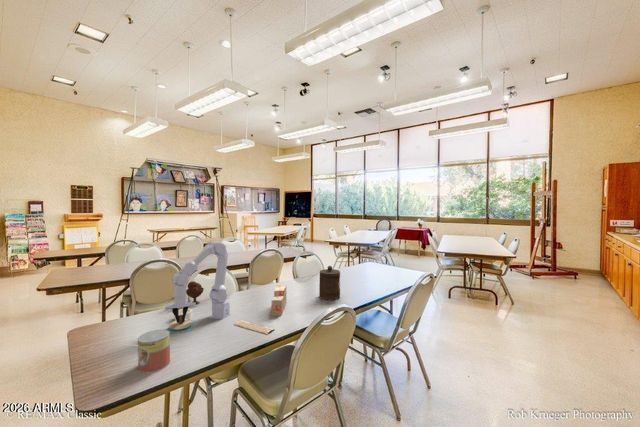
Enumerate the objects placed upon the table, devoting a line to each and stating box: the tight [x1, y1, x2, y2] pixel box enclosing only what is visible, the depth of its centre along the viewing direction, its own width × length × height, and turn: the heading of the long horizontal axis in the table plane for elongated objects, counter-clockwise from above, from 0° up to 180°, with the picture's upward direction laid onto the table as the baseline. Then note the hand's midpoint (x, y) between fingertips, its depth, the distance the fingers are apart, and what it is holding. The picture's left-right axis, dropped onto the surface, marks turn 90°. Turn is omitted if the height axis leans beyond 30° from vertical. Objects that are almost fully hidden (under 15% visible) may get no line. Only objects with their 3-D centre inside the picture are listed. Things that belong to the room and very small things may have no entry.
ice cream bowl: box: [186, 281, 205, 306], centre depth 188 cm, size 11×11×15 cm
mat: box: [166, 321, 195, 334], centre depth 150 cm, size 12×12×1 cm
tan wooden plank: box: [233, 319, 276, 335], centre depth 152 cm, size 24×7×2 cm, turn 60°
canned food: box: [137, 329, 171, 374], centre depth 116 cm, size 11×11×12 cm
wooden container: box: [318, 265, 341, 301], centre depth 203 cm, size 15×15×22 cm
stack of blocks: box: [270, 284, 287, 316], centre depth 178 cm, size 21×6×12 cm, turn 179°
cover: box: [168, 315, 193, 330], centre depth 150 cm, size 11×11×5 cm
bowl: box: [174, 308, 194, 321], centre depth 162 cm, size 9×9×4 cm
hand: (180, 321), depth 150 cm, fingers closed on cover, 2 cm apart
